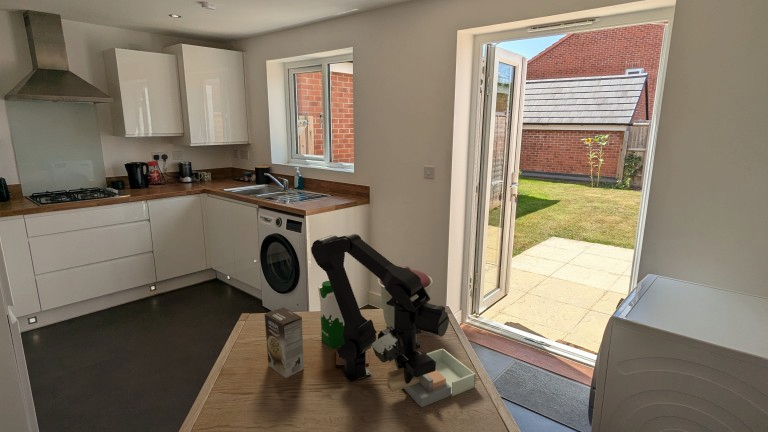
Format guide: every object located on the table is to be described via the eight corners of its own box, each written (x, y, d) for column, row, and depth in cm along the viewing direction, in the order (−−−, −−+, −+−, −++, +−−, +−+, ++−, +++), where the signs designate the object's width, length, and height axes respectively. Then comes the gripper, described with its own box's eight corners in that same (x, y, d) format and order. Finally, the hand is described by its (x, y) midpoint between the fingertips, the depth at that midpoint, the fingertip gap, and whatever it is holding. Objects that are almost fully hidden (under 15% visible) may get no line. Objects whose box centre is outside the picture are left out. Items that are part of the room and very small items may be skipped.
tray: (421, 367, 116) (421, 355, 115) (442, 360, 120) (442, 348, 119) (452, 396, 104) (453, 382, 104) (474, 387, 108) (475, 373, 107)
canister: (438, 336, 133) (441, 274, 128) (384, 342, 130) (384, 279, 125) (422, 311, 150) (423, 256, 146) (373, 315, 147) (373, 259, 142)
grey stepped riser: (394, 378, 112) (394, 370, 111) (421, 369, 116) (422, 361, 115) (421, 407, 101) (421, 398, 100) (450, 395, 105) (451, 386, 104)
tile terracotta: (421, 379, 107) (421, 374, 107) (435, 374, 109) (435, 369, 109) (431, 389, 103) (431, 384, 103) (445, 383, 105) (446, 378, 105)
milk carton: (317, 339, 131) (315, 280, 127) (342, 331, 136) (341, 274, 132) (330, 351, 124) (328, 290, 120) (356, 342, 129) (355, 283, 125)
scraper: (379, 377, 108) (379, 364, 107) (409, 367, 112) (409, 354, 111) (401, 402, 98) (401, 387, 97) (433, 390, 103) (433, 376, 102)
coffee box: (267, 365, 117) (263, 313, 114) (286, 356, 122) (283, 305, 118) (285, 379, 111) (282, 324, 108) (305, 368, 116) (302, 316, 112)
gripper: (359, 315, 105) (360, 369, 109) (396, 350, 89) (395, 413, 93) (397, 306, 111) (396, 358, 114) (438, 338, 95) (436, 397, 98)
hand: (404, 380), depth 105 cm, fingers closed on scraper, 2 cm apart
